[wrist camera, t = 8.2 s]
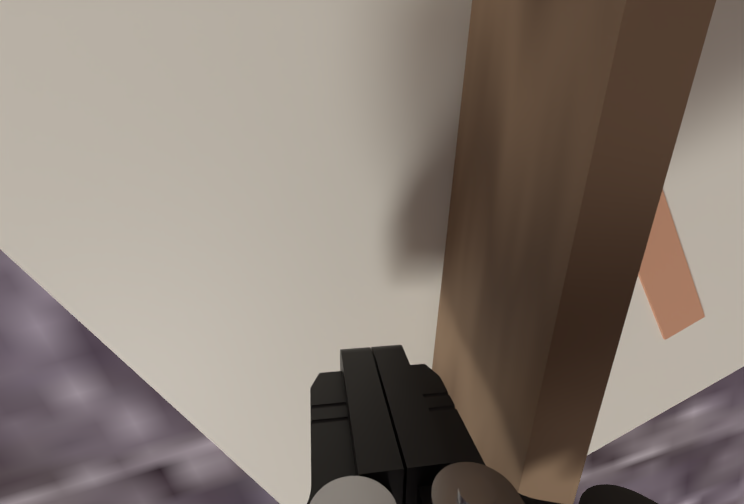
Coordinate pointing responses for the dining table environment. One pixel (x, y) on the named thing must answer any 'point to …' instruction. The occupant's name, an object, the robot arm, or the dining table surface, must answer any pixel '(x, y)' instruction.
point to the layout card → (312, 203)
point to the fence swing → (555, 216)
